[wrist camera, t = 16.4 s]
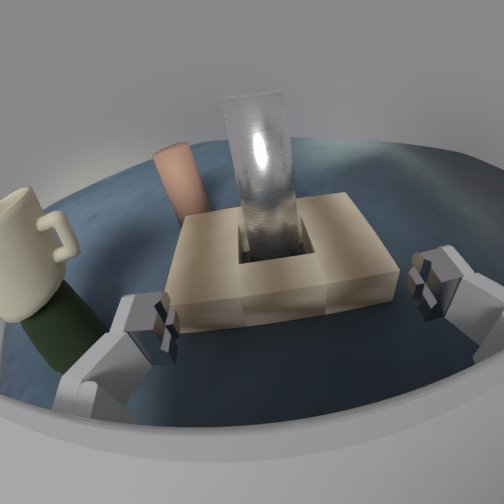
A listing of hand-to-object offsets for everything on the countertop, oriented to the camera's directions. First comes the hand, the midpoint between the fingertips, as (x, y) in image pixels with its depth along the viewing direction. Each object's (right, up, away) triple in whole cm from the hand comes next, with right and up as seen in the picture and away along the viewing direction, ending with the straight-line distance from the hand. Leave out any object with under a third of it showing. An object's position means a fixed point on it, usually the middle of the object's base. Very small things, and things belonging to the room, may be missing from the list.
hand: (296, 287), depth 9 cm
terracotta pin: (-8, +5, +24) cm, 25 cm away
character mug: (-16, -7, +10) cm, 20 cm away
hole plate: (+1, 0, +15) cm, 15 cm away
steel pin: (+1, 0, +15) cm, 15 cm away
